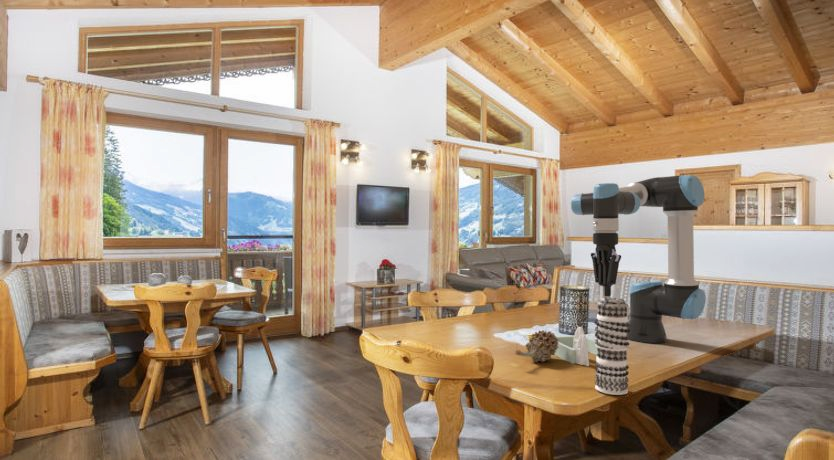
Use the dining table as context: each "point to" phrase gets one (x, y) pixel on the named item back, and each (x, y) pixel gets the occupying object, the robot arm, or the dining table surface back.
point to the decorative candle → (612, 346)
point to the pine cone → (540, 346)
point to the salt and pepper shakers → (581, 347)
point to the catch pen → (567, 349)
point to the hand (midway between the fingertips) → (605, 306)
